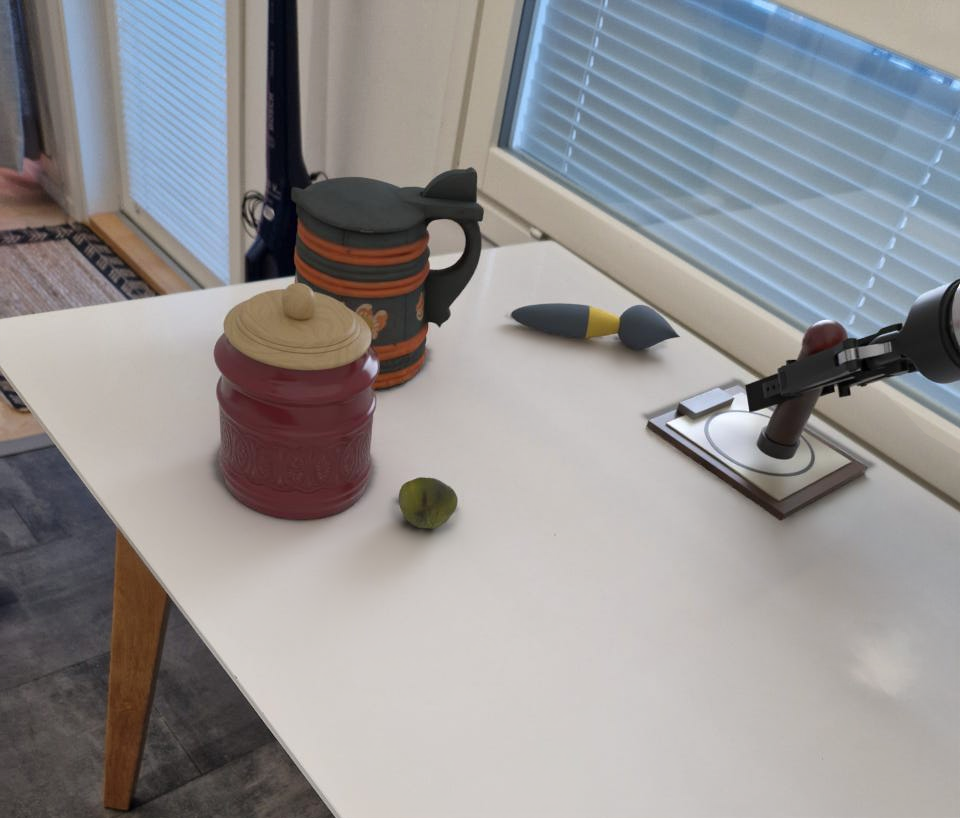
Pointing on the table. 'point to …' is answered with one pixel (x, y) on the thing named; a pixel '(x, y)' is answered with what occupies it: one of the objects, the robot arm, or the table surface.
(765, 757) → the table surface
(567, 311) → the paintbrush
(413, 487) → the lime
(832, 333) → the dot stamp
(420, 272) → the beer stein
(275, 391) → the kitchen canister
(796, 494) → the clipboard
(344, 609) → the table surface
